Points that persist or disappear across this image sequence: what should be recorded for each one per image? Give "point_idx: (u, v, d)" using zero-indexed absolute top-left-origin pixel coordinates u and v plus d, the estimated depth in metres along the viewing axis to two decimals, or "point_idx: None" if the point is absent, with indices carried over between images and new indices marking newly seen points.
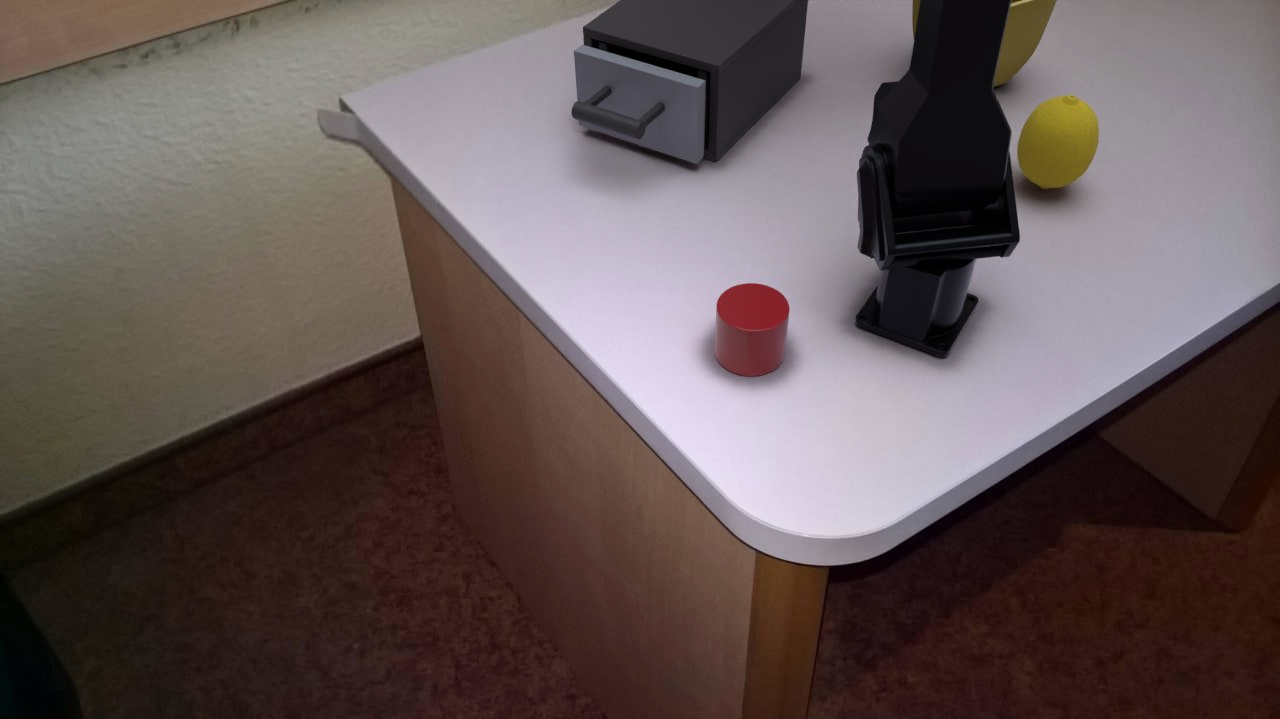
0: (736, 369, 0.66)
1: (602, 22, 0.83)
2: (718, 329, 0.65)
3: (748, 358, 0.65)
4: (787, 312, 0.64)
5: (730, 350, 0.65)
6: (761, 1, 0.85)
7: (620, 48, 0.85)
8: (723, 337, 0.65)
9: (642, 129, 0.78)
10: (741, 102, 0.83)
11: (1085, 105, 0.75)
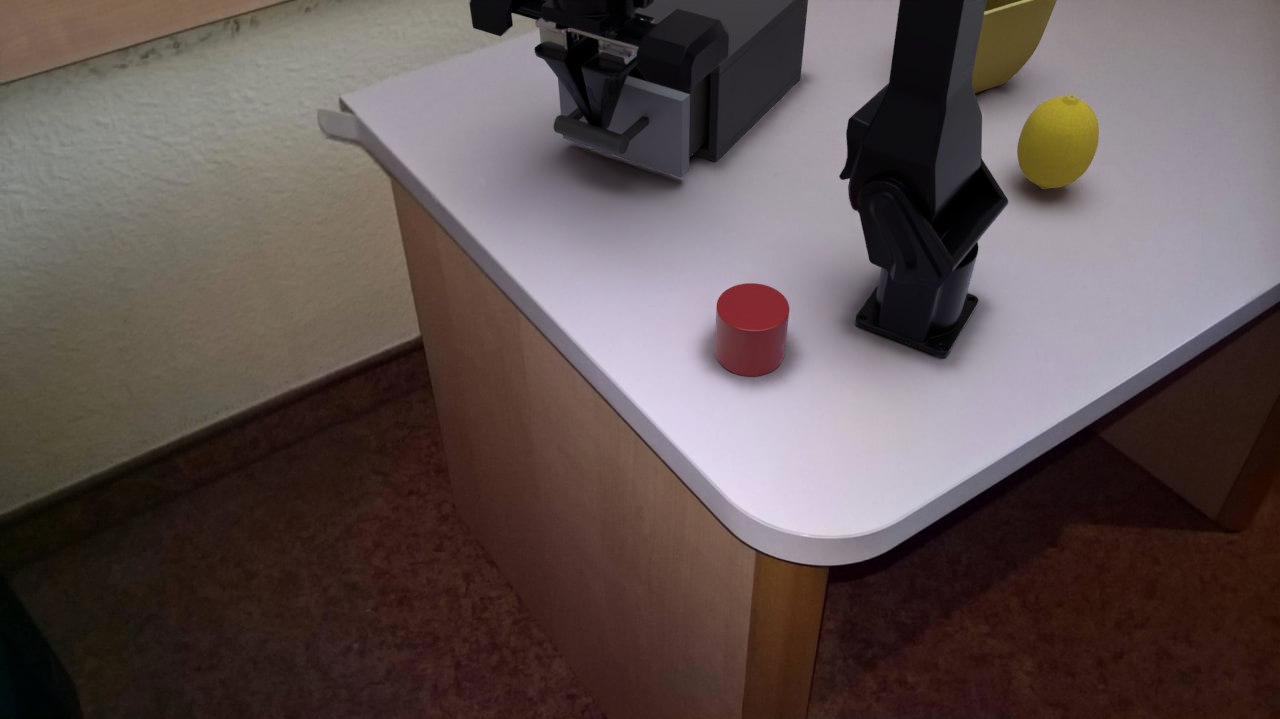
0: (736, 369, 0.66)
1: None
2: (718, 329, 0.65)
3: (748, 358, 0.65)
4: (787, 312, 0.64)
5: (730, 350, 0.65)
6: (761, 1, 0.85)
7: None
8: (723, 337, 0.65)
9: (625, 144, 0.76)
10: (741, 102, 0.83)
11: (1085, 105, 0.75)
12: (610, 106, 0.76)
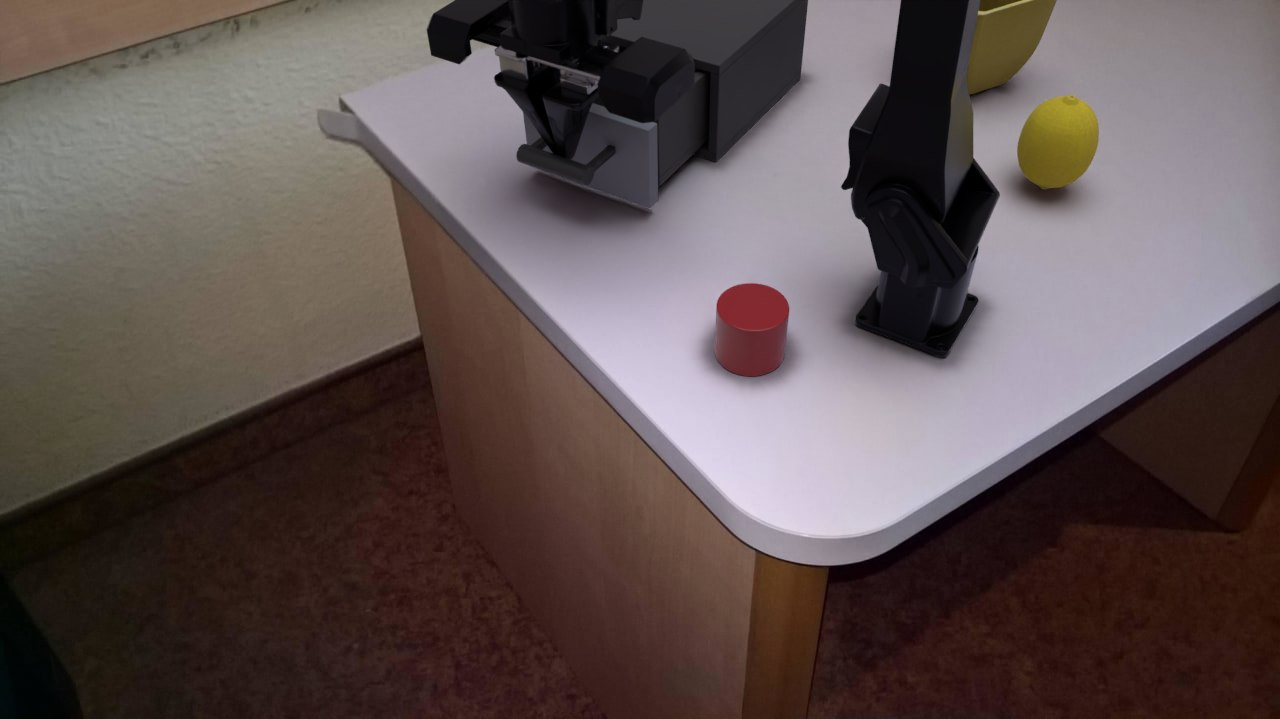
0: (736, 369, 0.66)
1: None
2: (718, 329, 0.65)
3: (748, 358, 0.65)
4: (787, 312, 0.64)
5: (730, 350, 0.65)
6: (761, 1, 0.85)
7: None
8: (723, 337, 0.65)
9: (590, 175, 0.73)
10: (741, 102, 0.83)
11: (1085, 105, 0.75)
12: (574, 136, 0.73)
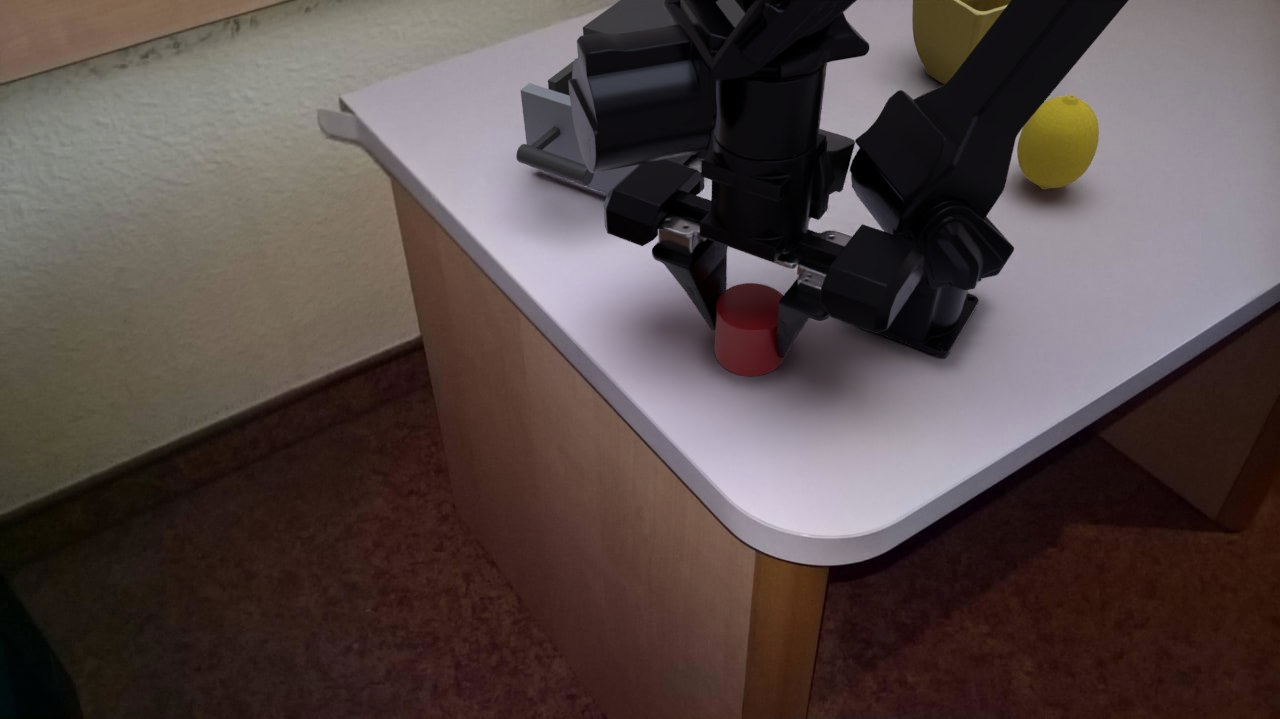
0: (736, 369, 0.66)
1: (602, 22, 0.83)
2: (718, 329, 0.65)
3: (748, 358, 0.65)
4: None
5: (730, 350, 0.65)
6: None
7: None
8: (723, 337, 0.65)
9: (590, 175, 0.73)
10: None
11: (1085, 105, 0.75)
12: (798, 333, 0.64)
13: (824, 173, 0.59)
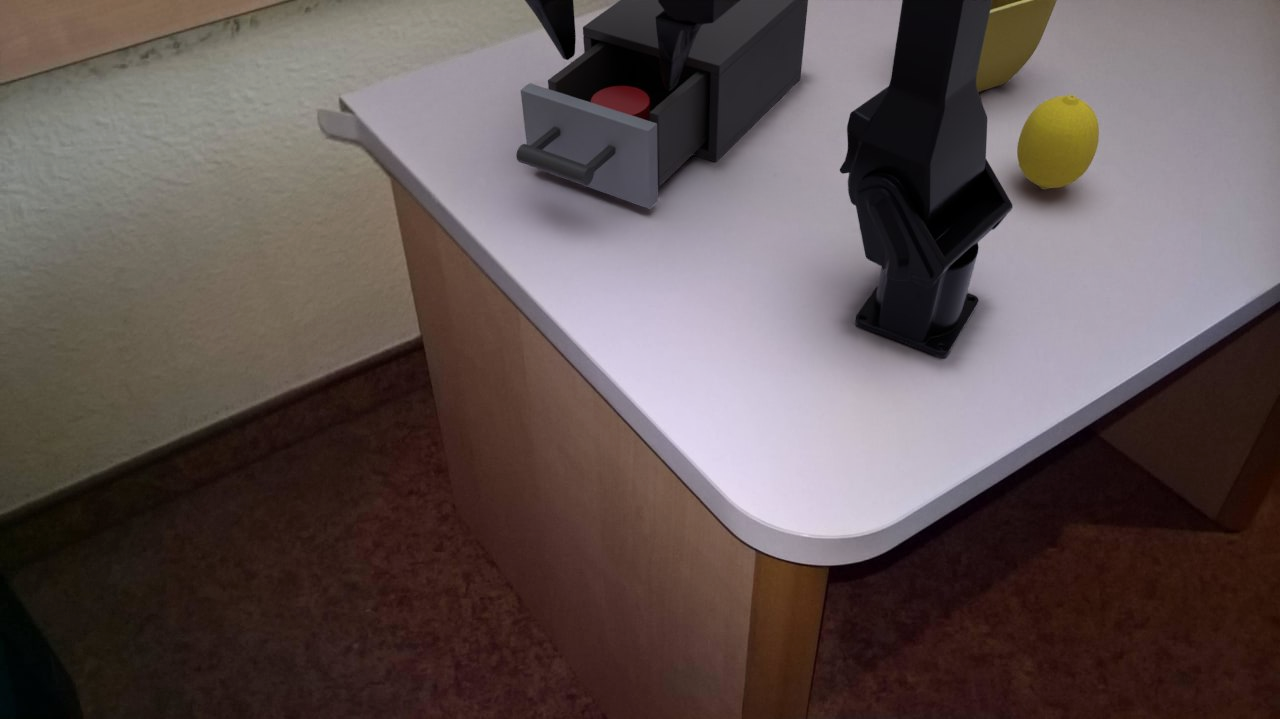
0: None
1: (602, 22, 0.83)
2: None
3: None
4: (647, 104, 0.79)
5: None
6: (761, 1, 0.85)
7: (571, 86, 0.80)
8: None
9: (590, 175, 0.73)
10: (741, 102, 0.83)
11: (1085, 105, 0.75)
12: (680, 62, 0.74)
13: None
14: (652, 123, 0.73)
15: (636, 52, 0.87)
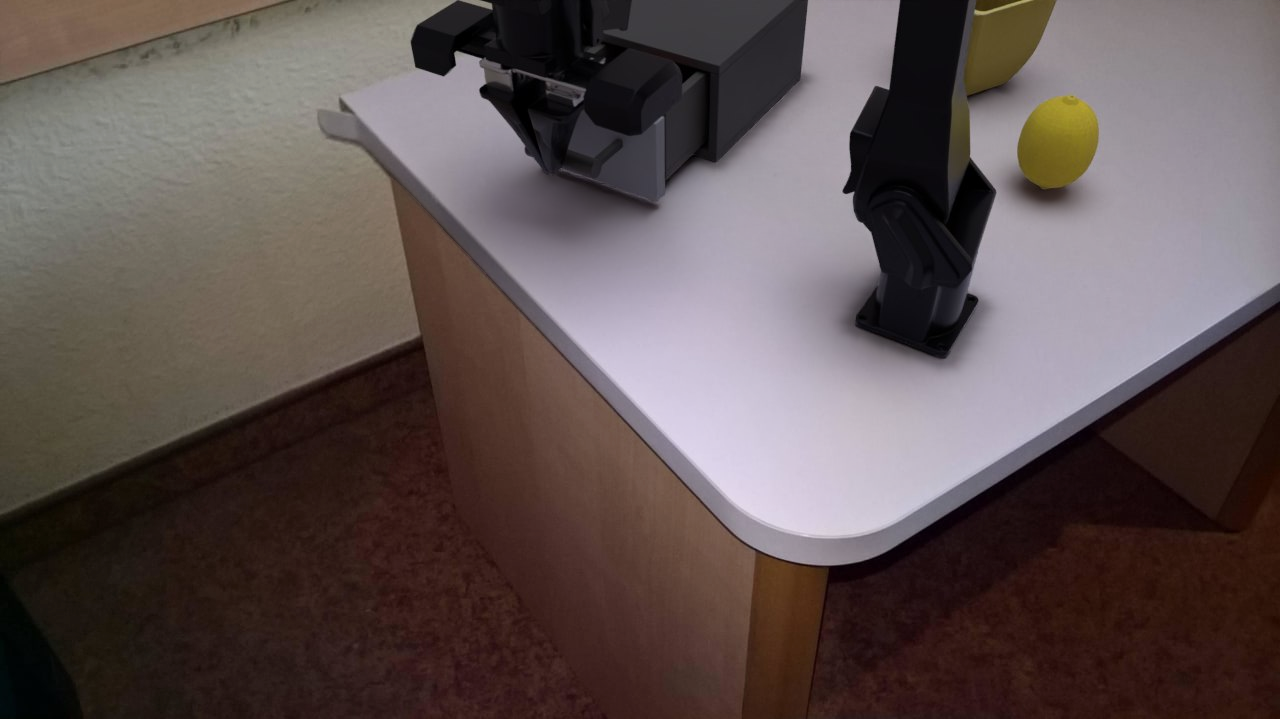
0: None
1: None
2: None
3: None
4: None
5: None
6: (761, 1, 0.85)
7: None
8: None
9: (598, 168, 0.74)
10: (741, 102, 0.83)
11: (1085, 105, 0.75)
12: (561, 148, 0.72)
13: (594, 2, 0.66)
14: None
15: None
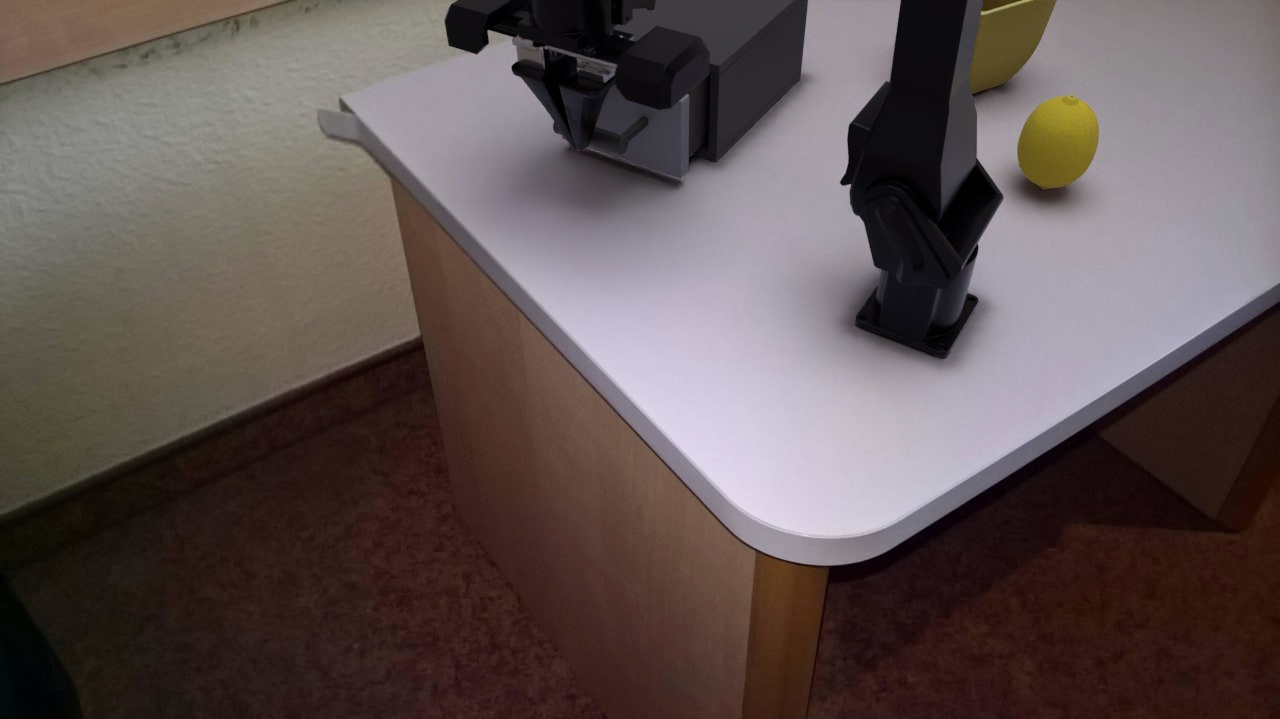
0: None
1: None
2: None
3: None
4: None
5: None
6: (761, 1, 0.85)
7: None
8: None
9: (625, 144, 0.76)
10: (741, 102, 0.83)
11: (1085, 105, 0.75)
12: (590, 124, 0.74)
13: None
14: None
15: None
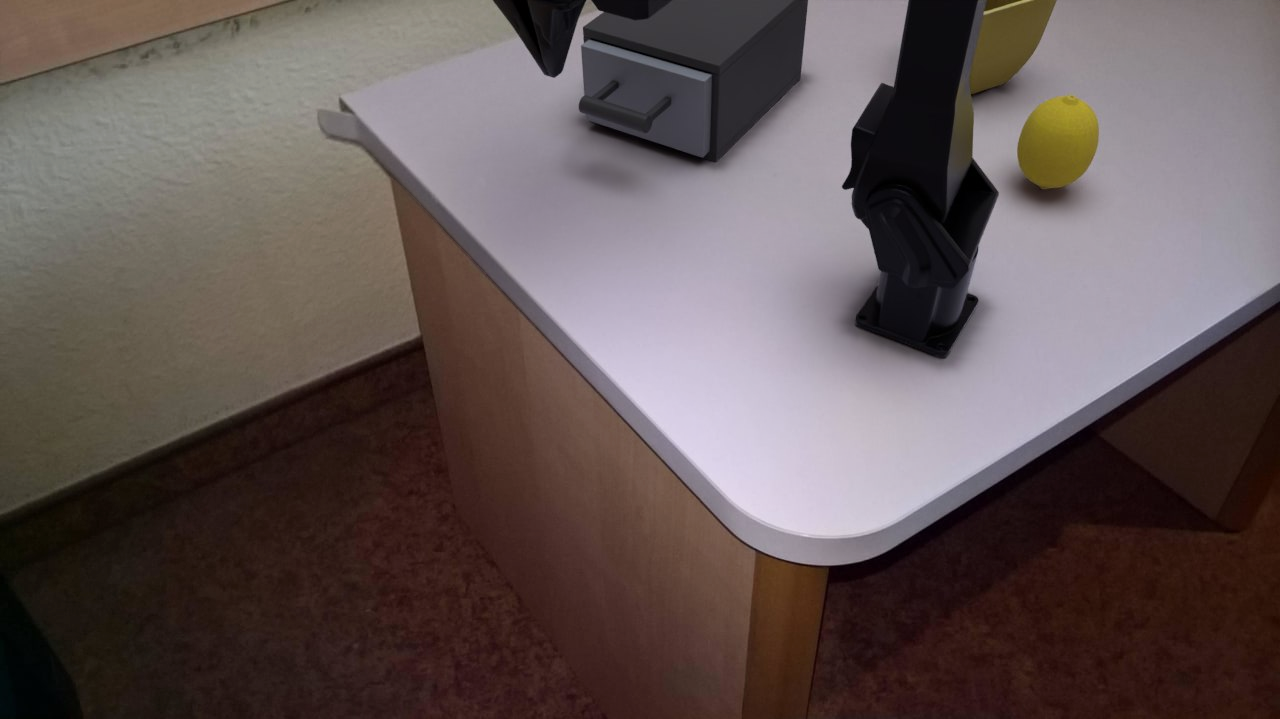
0: None
1: (602, 22, 0.83)
2: None
3: None
4: None
5: None
6: (761, 1, 0.85)
7: None
8: None
9: (649, 123, 0.78)
10: (741, 102, 0.83)
11: (1085, 105, 0.75)
12: (562, 46, 0.68)
13: None
14: (707, 74, 0.78)
15: None
